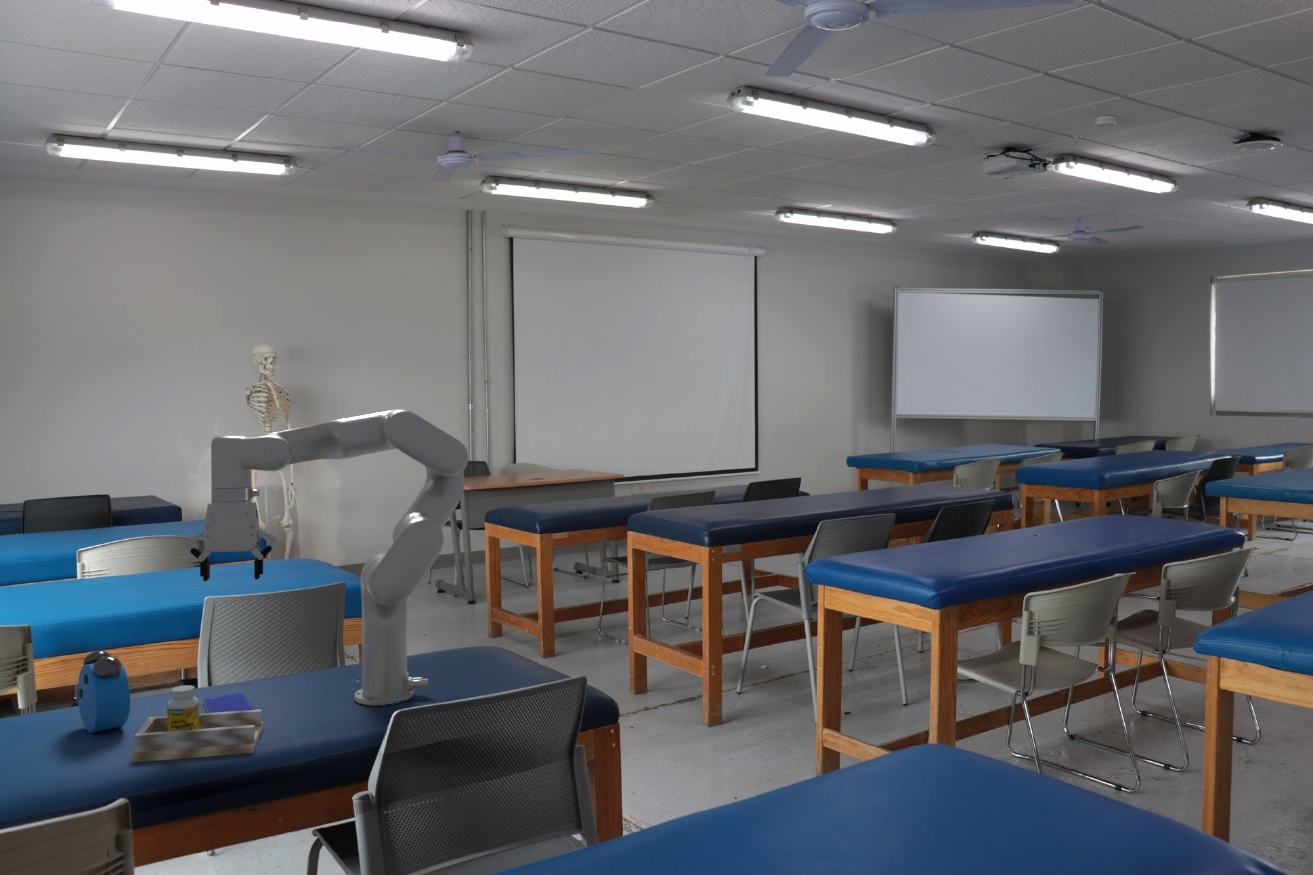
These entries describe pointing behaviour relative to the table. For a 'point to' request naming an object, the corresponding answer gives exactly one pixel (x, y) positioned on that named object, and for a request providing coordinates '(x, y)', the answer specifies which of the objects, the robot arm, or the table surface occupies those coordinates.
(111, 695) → the alarm clock
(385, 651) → the robot arm
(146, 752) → the rail holder
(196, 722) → the supplement bottle
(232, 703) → the hard drive
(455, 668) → the table surface
